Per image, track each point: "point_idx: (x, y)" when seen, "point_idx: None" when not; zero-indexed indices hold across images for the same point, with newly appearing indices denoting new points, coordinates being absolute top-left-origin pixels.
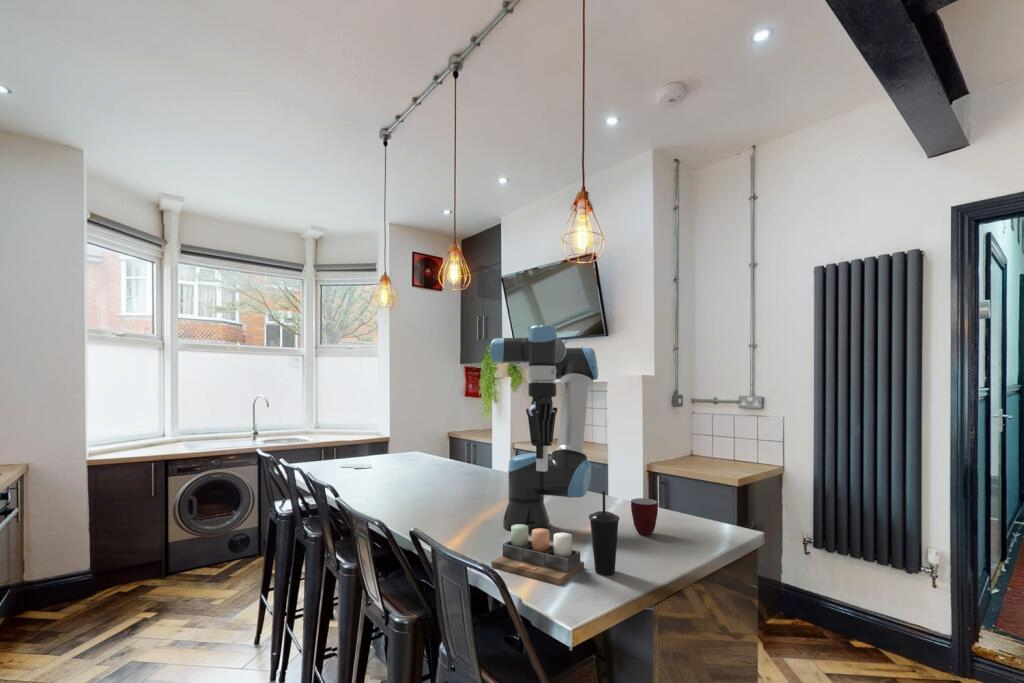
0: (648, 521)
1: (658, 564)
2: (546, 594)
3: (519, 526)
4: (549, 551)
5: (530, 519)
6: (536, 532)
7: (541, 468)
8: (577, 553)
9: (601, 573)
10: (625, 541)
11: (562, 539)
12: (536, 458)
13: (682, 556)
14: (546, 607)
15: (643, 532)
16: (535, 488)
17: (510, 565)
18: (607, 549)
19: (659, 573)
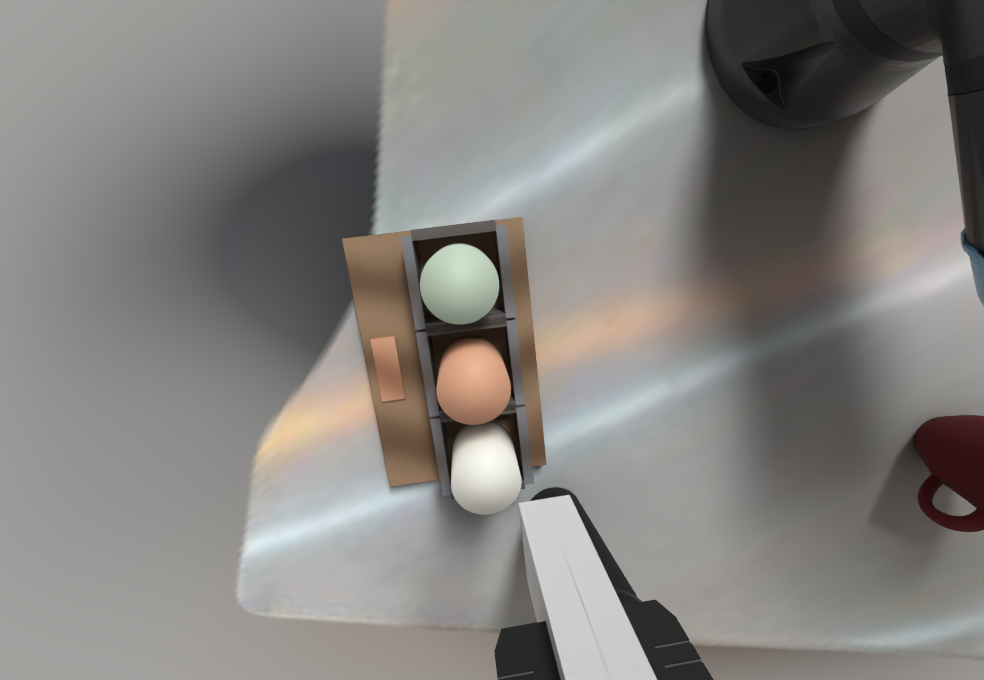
0: (958, 492)
1: (692, 579)
2: (321, 484)
3: (462, 281)
4: None
5: (787, 67)
6: (445, 390)
7: (528, 571)
8: None
9: None
10: (829, 427)
11: (457, 499)
12: (540, 592)
13: (786, 595)
14: (264, 526)
15: (920, 451)
16: (947, 31)
17: (361, 316)
18: None
19: None
